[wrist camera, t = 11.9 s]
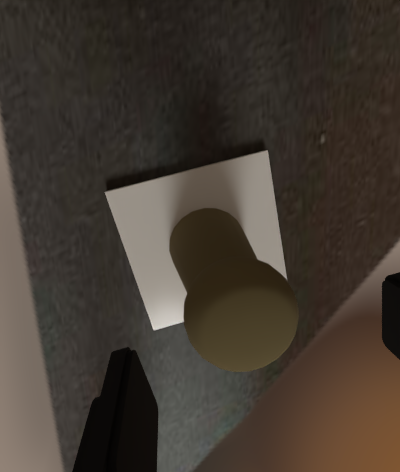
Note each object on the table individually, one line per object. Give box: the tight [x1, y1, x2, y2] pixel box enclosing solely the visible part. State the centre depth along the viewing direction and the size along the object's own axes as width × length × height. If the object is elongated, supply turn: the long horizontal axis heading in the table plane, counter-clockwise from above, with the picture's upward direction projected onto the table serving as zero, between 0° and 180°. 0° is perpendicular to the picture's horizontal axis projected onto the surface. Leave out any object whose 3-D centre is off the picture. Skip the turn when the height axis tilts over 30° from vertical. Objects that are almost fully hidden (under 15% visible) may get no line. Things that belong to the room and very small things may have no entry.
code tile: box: [105, 150, 287, 330], centre depth 22 cm, size 12×12×1 cm
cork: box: [169, 208, 299, 372], centre depth 16 cm, size 6×6×11 cm
